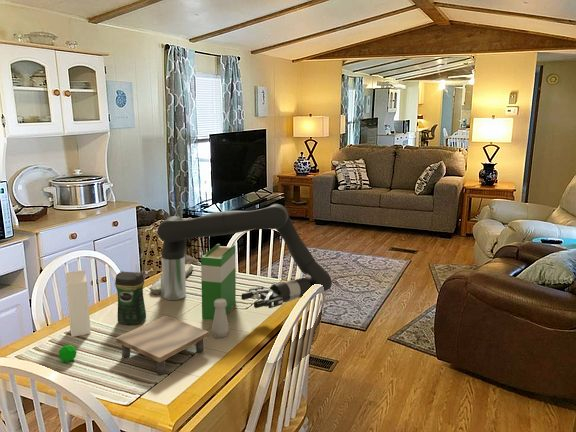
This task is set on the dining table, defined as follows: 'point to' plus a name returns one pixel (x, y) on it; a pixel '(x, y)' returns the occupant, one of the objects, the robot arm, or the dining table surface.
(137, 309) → the coffee jar
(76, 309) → the milk
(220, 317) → the salt shaker
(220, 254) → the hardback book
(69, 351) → the polyhedron
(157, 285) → the long grey stone
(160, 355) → the small wooden table
